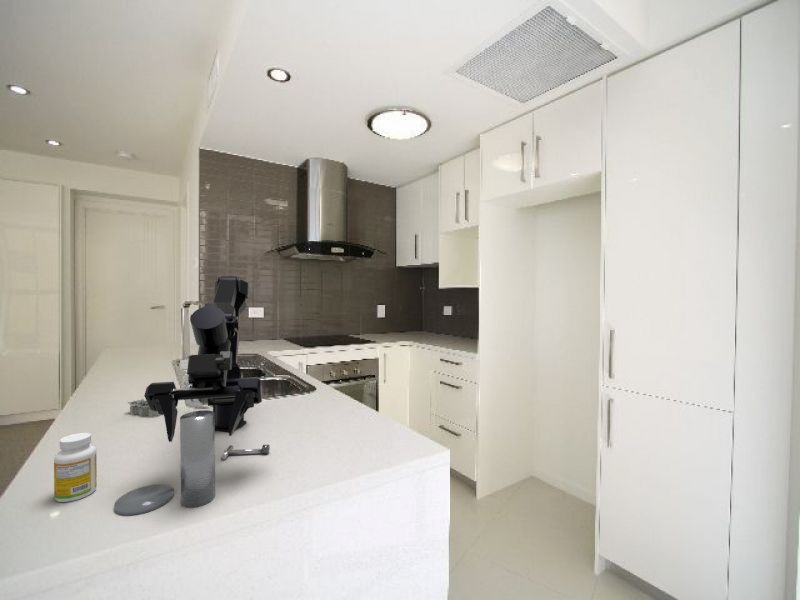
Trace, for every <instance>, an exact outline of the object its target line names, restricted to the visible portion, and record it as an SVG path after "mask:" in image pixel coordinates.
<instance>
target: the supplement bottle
mask: <svg viewBox="0 0 800 600" xmlns="http://www.w3.org/2000/svg"><path fill="white" fill-rule="evenodd" d="M91 443H92V434H91V432H80V433H79V432H78V433H72V434H69V435H66V436H64V437H62V438H60V439H59V450H60V451H58V452H57V453H56V454H55V456H54V458H53V491H54V500H55V501H56V502H58V503H59V502H60V503H66V502H67V503H69V502H73V501H77V500H81V499H82V498H83V499H84V498H86V497H88V496H90V495H91V494H93V493H94V492H95V490H96V489H97V481H98V479H97V476H98V475H97V448H96V447H95V446H94V445H92V444H91Z"/></svg>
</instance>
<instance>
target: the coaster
mask: <svg viewBox="0 0 800 600" xmlns="http://www.w3.org/2000/svg"><path fill="white" fill-rule="evenodd" d="M173 498H174V487H173V486H171V485H168V484H151V485H146V486H141V487H139V488H135V489H133V490H131V491H128V492H126V493H125V494H122V495H121V496H120V497H119V498H117V499H116V500H115V502H114V505H113V510H114V512H115V513H116V514H117V515H119V516H137V515H138V516H139V515H143V514H146V513H150V512H153V511H155V510H157V509H159V508H161V507H163V506H165V505H166V504H168V503H169V502H170V501H171V500H172V499H173Z"/></svg>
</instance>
